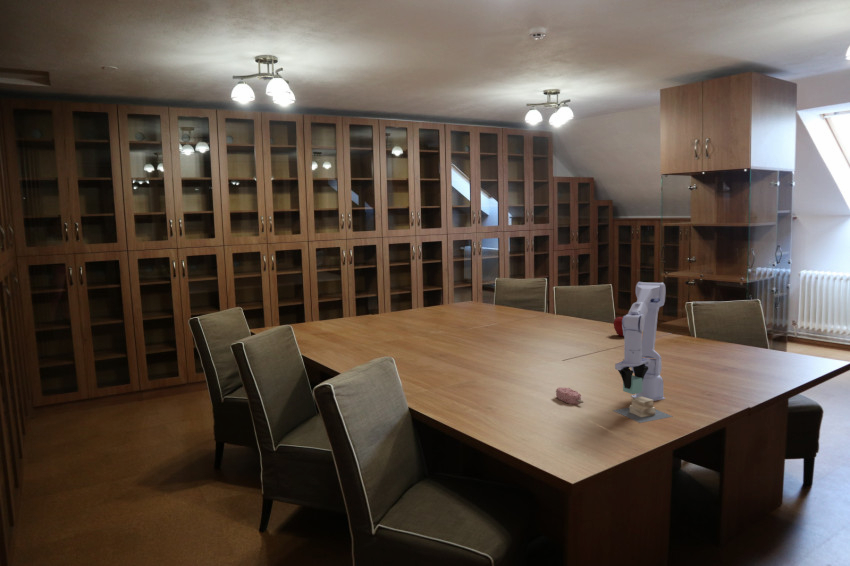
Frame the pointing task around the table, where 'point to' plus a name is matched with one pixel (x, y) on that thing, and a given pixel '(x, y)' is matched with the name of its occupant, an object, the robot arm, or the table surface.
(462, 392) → the table surface
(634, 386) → the teal block
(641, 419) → the felt mat
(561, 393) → the ice cream bar
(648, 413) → the tower base
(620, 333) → the apple
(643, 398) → the tower mid
